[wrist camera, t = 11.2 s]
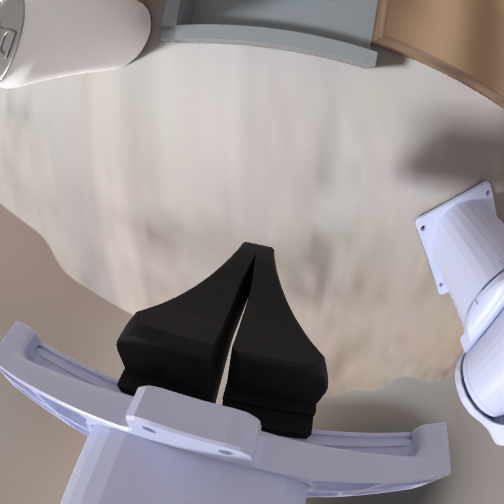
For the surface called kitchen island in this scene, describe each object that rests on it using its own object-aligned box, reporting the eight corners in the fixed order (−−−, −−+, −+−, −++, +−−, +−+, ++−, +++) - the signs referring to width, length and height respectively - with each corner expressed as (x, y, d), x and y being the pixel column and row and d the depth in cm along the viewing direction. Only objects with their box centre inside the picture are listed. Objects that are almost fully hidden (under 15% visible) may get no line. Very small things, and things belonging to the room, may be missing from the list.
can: (115, -10, 13) (-2, -24, 3) (169, 15, 14) (47, -10, 5) (79, 52, 16) (-37, 75, 6) (125, 82, 18) (1, 115, 8)
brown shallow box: (520, 17, 7) (548, 16, 4) (509, 113, 13) (538, 124, 10) (382, -60, 8) (395, -81, 5) (369, 43, 14) (384, 35, 10)
